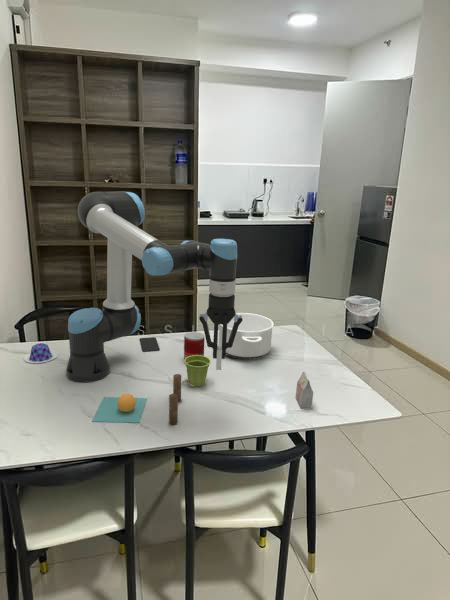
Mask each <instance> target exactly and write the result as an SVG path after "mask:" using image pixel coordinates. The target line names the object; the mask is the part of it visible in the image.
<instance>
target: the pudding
mask: <svg viewBox="0 0 450 600" xmlns="http://www.w3.org/2000/svg"><path fill="white" fill-rule="evenodd" d="M57 356H58V353H57V351H54V350H50V347H49V345H48V343H43V342H42V343H36V344H33V345H32V347H31V348H30V352H29V353H27V354H26V355H24V357H23V360H24V361H25V362H27V363H30V364H41V363H46V362H50V361H52V360H54V359H55V358H57Z"/></svg>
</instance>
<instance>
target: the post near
mask: <svg viewBox="0 0 450 600" xmlns="http://www.w3.org/2000/svg"><path fill="white" fill-rule="evenodd" d="M178 413H179V403H178V395H177V394H173V393H170V394H169V395H168V424H169V425H171V426H176V425H178V423H179V414H178Z"/></svg>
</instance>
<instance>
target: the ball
mask: <svg viewBox="0 0 450 600" xmlns="http://www.w3.org/2000/svg"><path fill="white" fill-rule="evenodd" d="M135 398H136V397H134V396H133V395H132V394H130V393H124V394H122V395H121V396H120V398H119V399H118V408H119V409H120V410H121V411H123V412H130V411H131V410H133V409H134V407H135V405H136V400H135Z"/></svg>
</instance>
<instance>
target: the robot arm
mask: <svg viewBox="0 0 450 600" xmlns="http://www.w3.org/2000/svg"><path fill="white" fill-rule="evenodd" d="M145 213H146V211H145V207H144V204H143V201H142V200H141V198H140V197H139V196H138V194H136V193H134V192H131V191H121V190H120V191H118V190H117V191H93V192H89V193H88V194H86V195H85V196H83V197H82V198H81V199H80V201H79V202H78V207H77V215H78V216H77V217H78V219H79V221H80V223H81V224H82V225H83V226H84V227H85V228H87V230H89V231H90V232H92V233H94V234H101V235H102V236H104V237H105V238H107V249H106V250H107V251H106V252H107V253H106V254H107V257H106V259H107V267H106V268H107V270H106V272H107V273H106V276H107V277H106V283H107V284H106V292H107V293H106V299H105V300H104V301H103V302H102V310H101V309H100V308H98V307H89V308H87V307H85V308H81V309H78V310H76V311H74V312H73V313H71V314H70V315H69V317H68V320H67V322H68V323H67V331H68V342H69V354H70V355H69V358H68V360H67V361H68V362H67V365H66V367H65V368H66V369H65V372H66V374H65V376H66V378H67V379H69V380H70V381H73V382H76V383H92V382H96V381H99V380H102V379H104V378H106V377H107V376H108V375H109V374H110V371H111V369H110V362H109V361H108V357H107V356H106V353H105V346H104V344H105V343H107V342H110V341H113V340H117V339H120V338H125V337H128V336H130V335H132V334H134V333H136V331H138V329H140V326H141V322H142V321H141V320H142V317H141V316H142V315H141V312H140V310H139V307H138V306H137V305H136V304H135V301H134V300H133V299H132V271H133V269H132V268H133V267H132V266H133V265H132V262H133V256H134V257H136V258H137V259H139V260H140V261H141V264H142V268H143V269H144V270H145V273H147V274H148V275H150V276H153V277H155V276H165V275H169V274H173V273H178V272H184V271H188V270H193V269H200V270H204V271H205V270H206V271H209V281H208V282H209V286H208V292H209V294H208V305H207V306H208V307H207V309H206V312H204V313H203V314H202V313H201V314H199V317H198V320H199V322H201V325H202V327H203V328H202V329H203V332H204V333H203V334H204V337H205V338H204V339H205V341H206V346H207V347H208V348H212V358H213V359H216V360H215V363H216V365H215V367H216V368H215V370H216V371H221V370H222V363H223V362H222V360H224V359H226V356H227V355H226V349H227V348H231V347H232V345H233V342H234V339H235V336H236V333H237V329H238V326H239V325H240V323H241V322H242V316H239V315H237V314H236V313H237V312H236V310H235V300H236V297H235V296H236V295H235V293H236V282H237V281H236V280H237V279H236V278H237V277H236V273H237V264H238V263H237V262H238V244H237V241H235V240H234V239H229V238H213V239H212V240H211V241H210V244H209V243H206V242H199V241H196V240H184V241H182V242H181V243H180V244H175V245H174V244H172V245H169V244H166V243H164V242H162V241H161V240H159V239H157V238H156V237H154V236H153V235H151V234H149V233H148V232H146V231H144V230H143V229H141V228H139V227H138V226H140V225H141V224H142V223H143V221H144V220H145V215H146V214H145ZM233 317H234V325H233V328H232V331H231V334H230V337H229V341H228V342H227V343H226V338H227V324H228V323H229V322H230V321H231V320H232V319H233ZM208 318H209V320H210V321H211V322H212V323H213V325H214V326H213V338H211V333H210V330H209V325H208ZM220 324H222V325H223V330H222V346H219V345H218V344H219V326H220ZM212 339H213V340H212Z"/></svg>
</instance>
